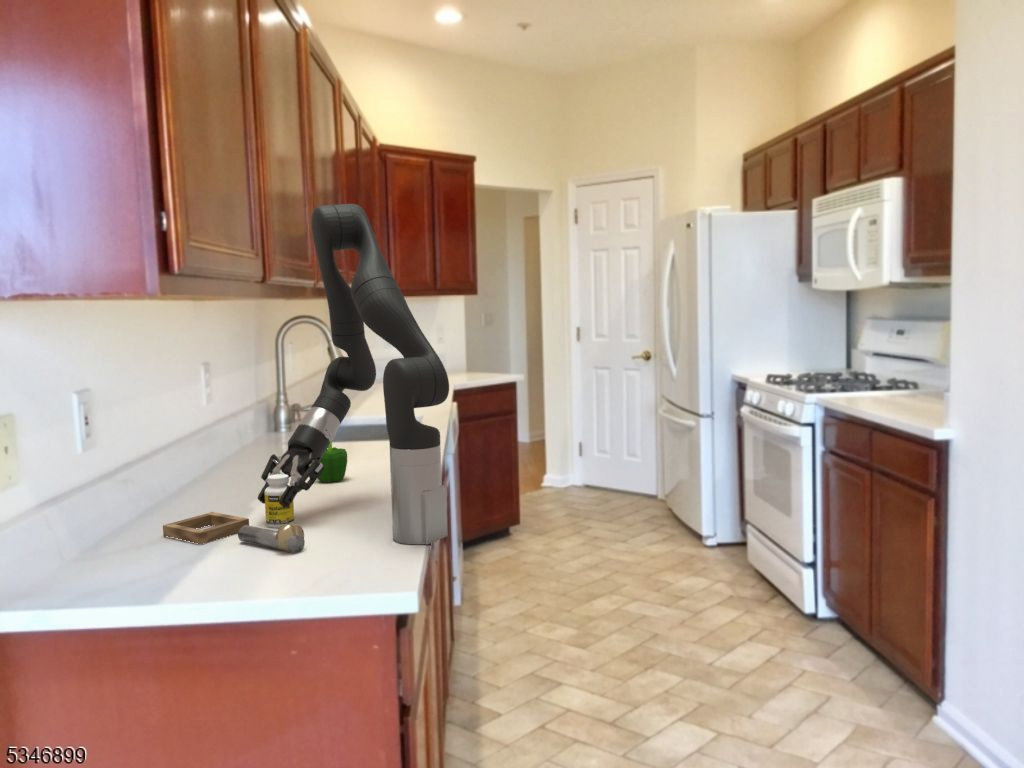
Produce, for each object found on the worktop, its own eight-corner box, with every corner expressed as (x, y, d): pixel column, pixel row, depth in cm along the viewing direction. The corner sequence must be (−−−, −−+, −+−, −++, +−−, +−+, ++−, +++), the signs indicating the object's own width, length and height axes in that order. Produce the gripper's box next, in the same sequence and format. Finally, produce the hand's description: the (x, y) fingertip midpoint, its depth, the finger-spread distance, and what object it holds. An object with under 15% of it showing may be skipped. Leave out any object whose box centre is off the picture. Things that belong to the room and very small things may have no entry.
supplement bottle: (265, 529, 152) (262, 479, 151) (266, 522, 157) (263, 474, 156) (294, 526, 153) (292, 477, 152) (294, 519, 159) (292, 472, 158)
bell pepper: (340, 485, 190) (338, 444, 189) (308, 484, 191) (306, 443, 190) (353, 477, 198) (352, 438, 197) (323, 476, 199) (321, 438, 198)
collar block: (249, 529, 152) (248, 518, 152) (200, 544, 143) (199, 533, 142) (212, 522, 158) (212, 511, 158) (163, 536, 148) (162, 525, 148)
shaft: (308, 548, 139) (307, 522, 138) (288, 556, 135) (286, 529, 134) (255, 537, 146) (254, 512, 146) (234, 544, 142) (232, 518, 142)
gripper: (280, 421, 163) (235, 489, 154) (329, 425, 156) (286, 497, 147) (300, 442, 168) (258, 509, 159) (349, 447, 161) (308, 518, 152)
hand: (272, 503), depth 153 cm, fingers closed on supplement bottle, 5 cm apart
